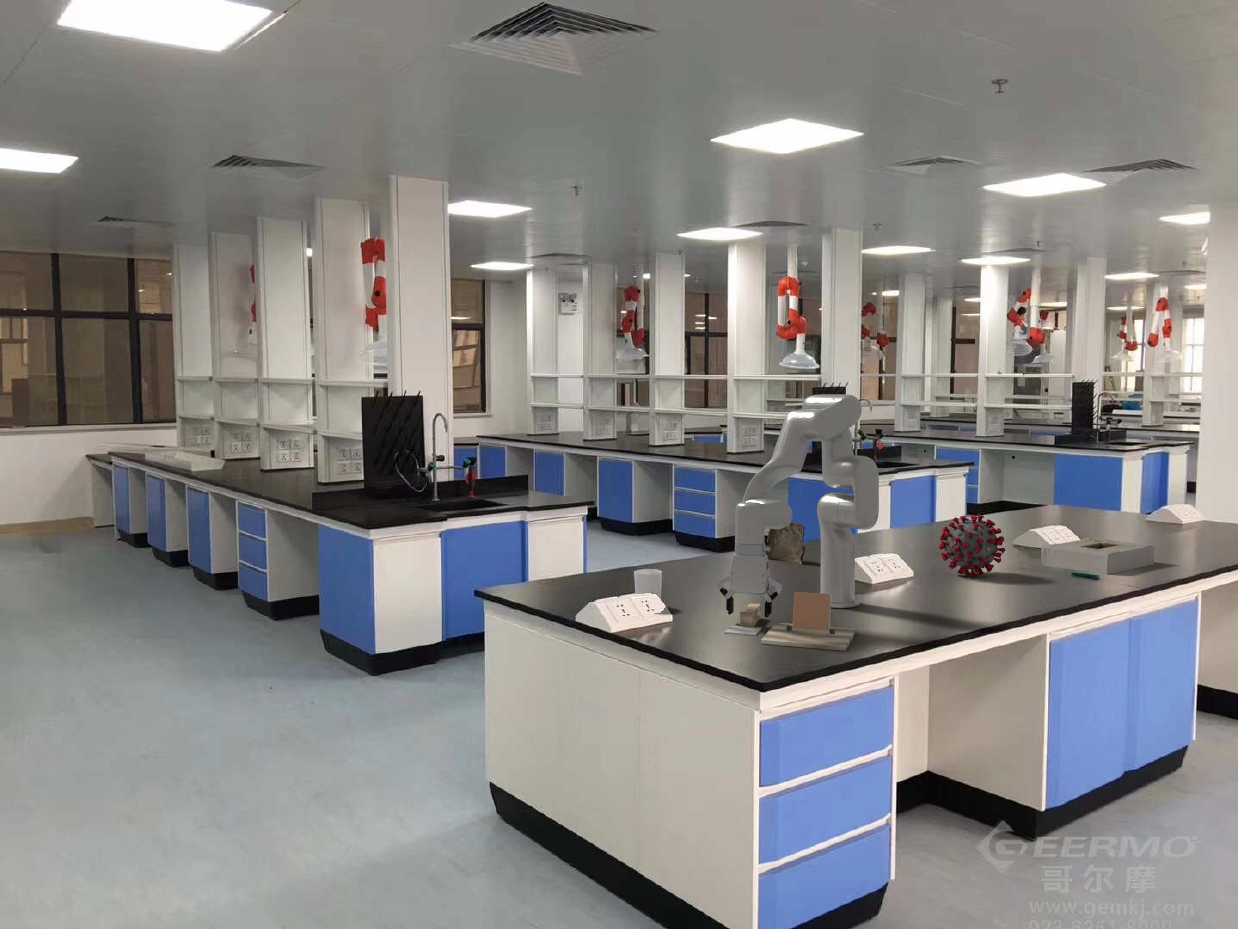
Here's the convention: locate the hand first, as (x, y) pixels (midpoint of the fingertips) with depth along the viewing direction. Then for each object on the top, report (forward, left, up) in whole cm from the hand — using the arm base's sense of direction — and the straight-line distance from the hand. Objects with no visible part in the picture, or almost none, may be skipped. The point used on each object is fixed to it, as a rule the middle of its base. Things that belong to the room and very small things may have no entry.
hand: (748, 615), depth 250 cm
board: (+9, +17, -3) cm, 20 cm away
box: (-122, +94, -3) cm, 154 cm away
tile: (+5, +17, +3) cm, 18 cm away
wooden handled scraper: (+2, 0, -3) cm, 3 cm away
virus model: (-88, +53, -3) cm, 103 cm away
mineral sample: (-96, -9, -3) cm, 96 cm away
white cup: (-12, -32, -3) cm, 34 cm away
